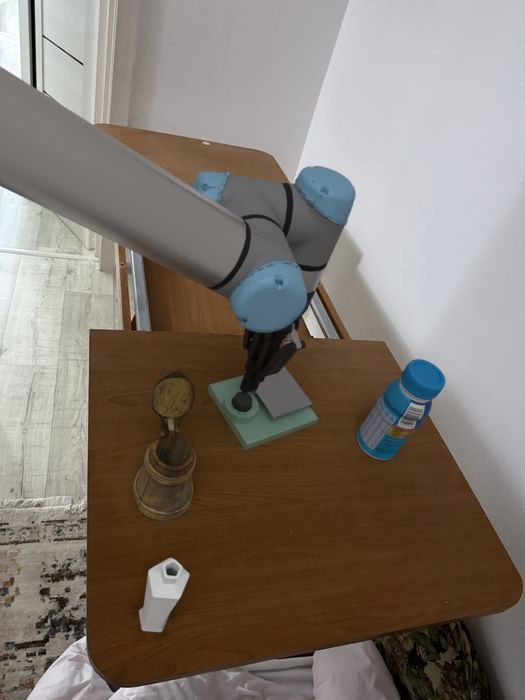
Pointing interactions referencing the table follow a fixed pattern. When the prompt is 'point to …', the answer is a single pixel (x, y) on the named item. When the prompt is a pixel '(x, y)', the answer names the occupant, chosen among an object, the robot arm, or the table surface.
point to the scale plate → (281, 394)
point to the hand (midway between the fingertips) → (248, 388)
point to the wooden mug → (168, 454)
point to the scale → (256, 416)
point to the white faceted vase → (162, 594)
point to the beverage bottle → (400, 409)
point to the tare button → (242, 401)
